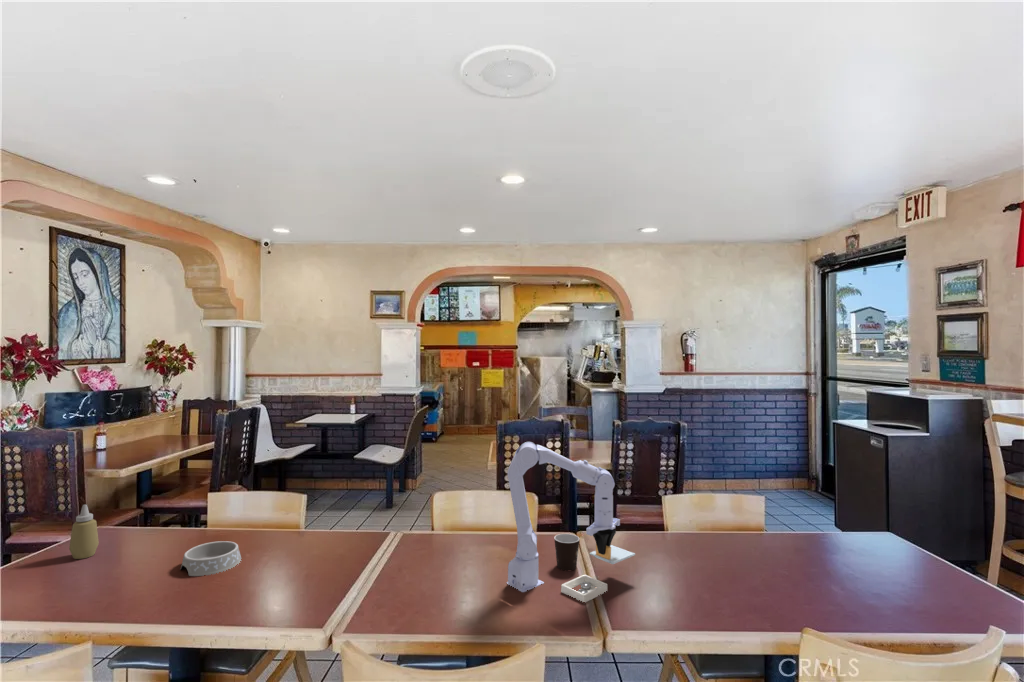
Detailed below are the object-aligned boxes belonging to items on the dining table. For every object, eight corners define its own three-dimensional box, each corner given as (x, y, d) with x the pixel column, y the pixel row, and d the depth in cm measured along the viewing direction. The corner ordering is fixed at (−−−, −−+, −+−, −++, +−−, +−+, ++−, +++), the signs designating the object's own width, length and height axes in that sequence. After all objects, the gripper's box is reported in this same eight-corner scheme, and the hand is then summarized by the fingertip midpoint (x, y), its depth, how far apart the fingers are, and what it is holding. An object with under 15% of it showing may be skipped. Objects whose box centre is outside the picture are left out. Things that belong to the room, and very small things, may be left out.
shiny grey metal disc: (582, 598, 155) (582, 594, 155) (575, 594, 157) (575, 590, 157) (590, 595, 156) (590, 592, 156) (583, 591, 159) (583, 588, 159)
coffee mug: (571, 575, 171) (571, 545, 171) (549, 568, 176) (549, 538, 176) (588, 563, 180) (588, 534, 180) (566, 557, 185) (567, 529, 185)
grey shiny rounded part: (590, 590, 160) (590, 586, 160) (579, 588, 161) (579, 585, 161) (591, 586, 163) (591, 582, 163) (581, 584, 164) (581, 581, 164)
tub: (584, 604, 152) (584, 595, 152) (561, 593, 158) (561, 584, 159) (607, 592, 159) (607, 584, 159) (584, 582, 166) (584, 574, 166)
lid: (613, 566, 159) (613, 550, 160) (589, 556, 166) (590, 541, 167) (635, 557, 167) (635, 542, 167) (611, 548, 174) (611, 534, 174)
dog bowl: (196, 581, 165) (196, 564, 165) (172, 566, 176) (172, 550, 176) (250, 563, 179) (250, 548, 179) (224, 551, 190) (225, 536, 190)
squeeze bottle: (85, 561, 179) (86, 508, 179) (62, 560, 179) (63, 508, 179) (104, 551, 187) (105, 501, 187) (82, 551, 187) (83, 501, 187)
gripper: (599, 517, 156) (599, 563, 156) (627, 507, 166) (627, 550, 165) (581, 512, 161) (581, 555, 161) (610, 502, 171) (609, 544, 171)
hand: (603, 552), depth 164 cm, fingers closed on lid
